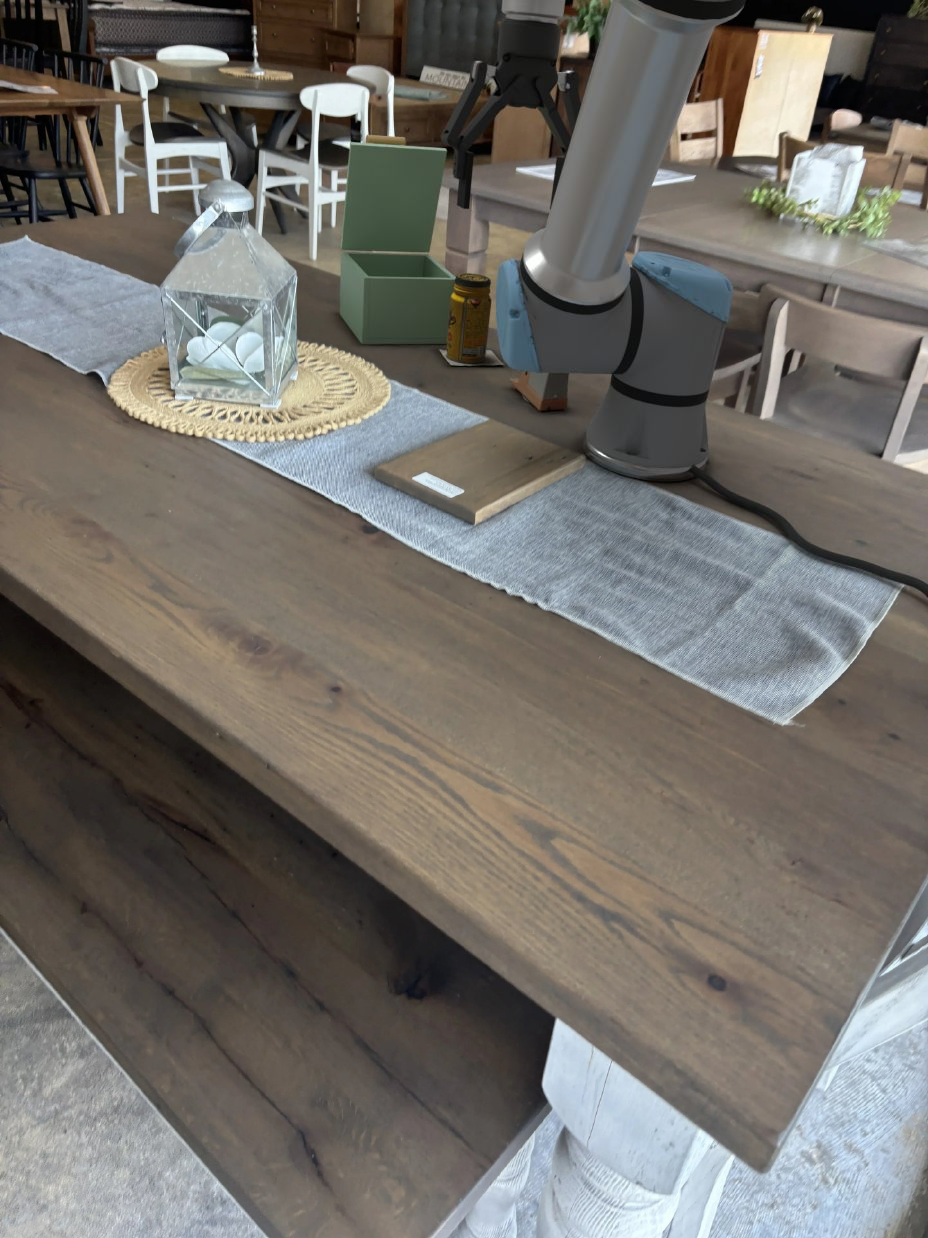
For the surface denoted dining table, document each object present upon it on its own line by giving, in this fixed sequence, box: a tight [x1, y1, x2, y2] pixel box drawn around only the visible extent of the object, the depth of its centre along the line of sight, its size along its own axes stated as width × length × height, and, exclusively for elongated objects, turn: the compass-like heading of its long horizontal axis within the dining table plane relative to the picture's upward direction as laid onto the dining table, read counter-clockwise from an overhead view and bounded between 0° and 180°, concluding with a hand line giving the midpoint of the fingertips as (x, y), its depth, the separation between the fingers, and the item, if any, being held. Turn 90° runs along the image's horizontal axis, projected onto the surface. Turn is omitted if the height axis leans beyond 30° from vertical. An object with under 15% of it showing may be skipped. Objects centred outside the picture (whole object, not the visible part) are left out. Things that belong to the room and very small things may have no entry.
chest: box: [339, 251, 456, 345], centre depth 145 cm, size 16×15×10 cm
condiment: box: [439, 272, 505, 367], centre depth 135 cm, size 7×8×12 cm
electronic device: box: [509, 371, 570, 412], centre depth 125 cm, size 4×10×8 cm, turn 24°
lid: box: [340, 134, 448, 254], centre depth 144 cm, size 17×15×9 cm
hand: (510, 209), depth 121 cm, fingers open, 13 cm apart
